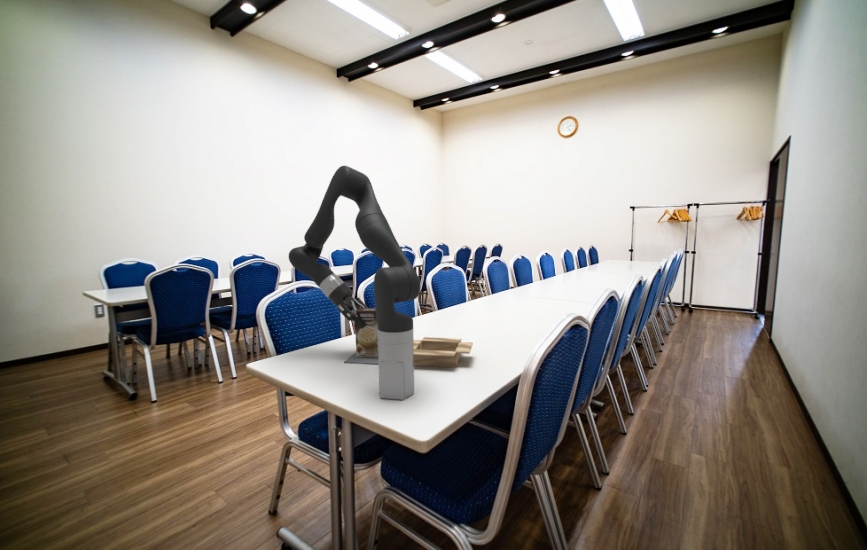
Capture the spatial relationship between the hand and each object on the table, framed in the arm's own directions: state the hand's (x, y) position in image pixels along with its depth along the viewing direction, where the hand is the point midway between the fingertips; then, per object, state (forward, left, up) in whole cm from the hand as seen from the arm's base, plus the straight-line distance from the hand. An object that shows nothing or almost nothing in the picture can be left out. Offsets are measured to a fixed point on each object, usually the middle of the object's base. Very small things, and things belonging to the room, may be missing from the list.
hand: (368, 324), depth 126 cm
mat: (0, -1, -11) cm, 11 cm away
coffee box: (0, -1, -11) cm, 11 cm away
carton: (0, -24, -11) cm, 27 cm away
